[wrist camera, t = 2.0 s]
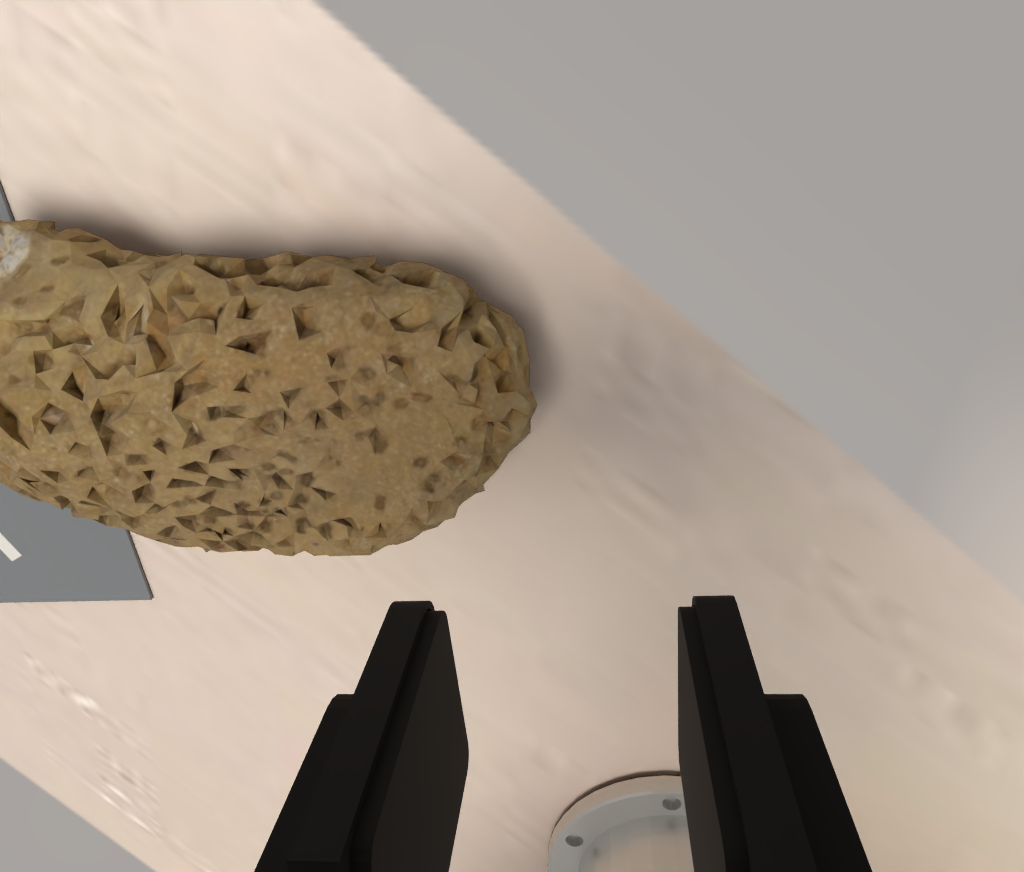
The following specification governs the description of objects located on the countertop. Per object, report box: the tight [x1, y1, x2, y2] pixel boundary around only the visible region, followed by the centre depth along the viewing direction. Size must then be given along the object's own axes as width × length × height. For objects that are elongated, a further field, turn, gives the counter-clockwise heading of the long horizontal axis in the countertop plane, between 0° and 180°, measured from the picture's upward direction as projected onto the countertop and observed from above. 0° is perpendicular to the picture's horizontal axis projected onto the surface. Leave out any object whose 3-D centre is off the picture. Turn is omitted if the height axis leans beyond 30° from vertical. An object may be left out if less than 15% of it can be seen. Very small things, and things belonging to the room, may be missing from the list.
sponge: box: [0, 220, 537, 556], centre depth 24 cm, size 13×8×20 cm
